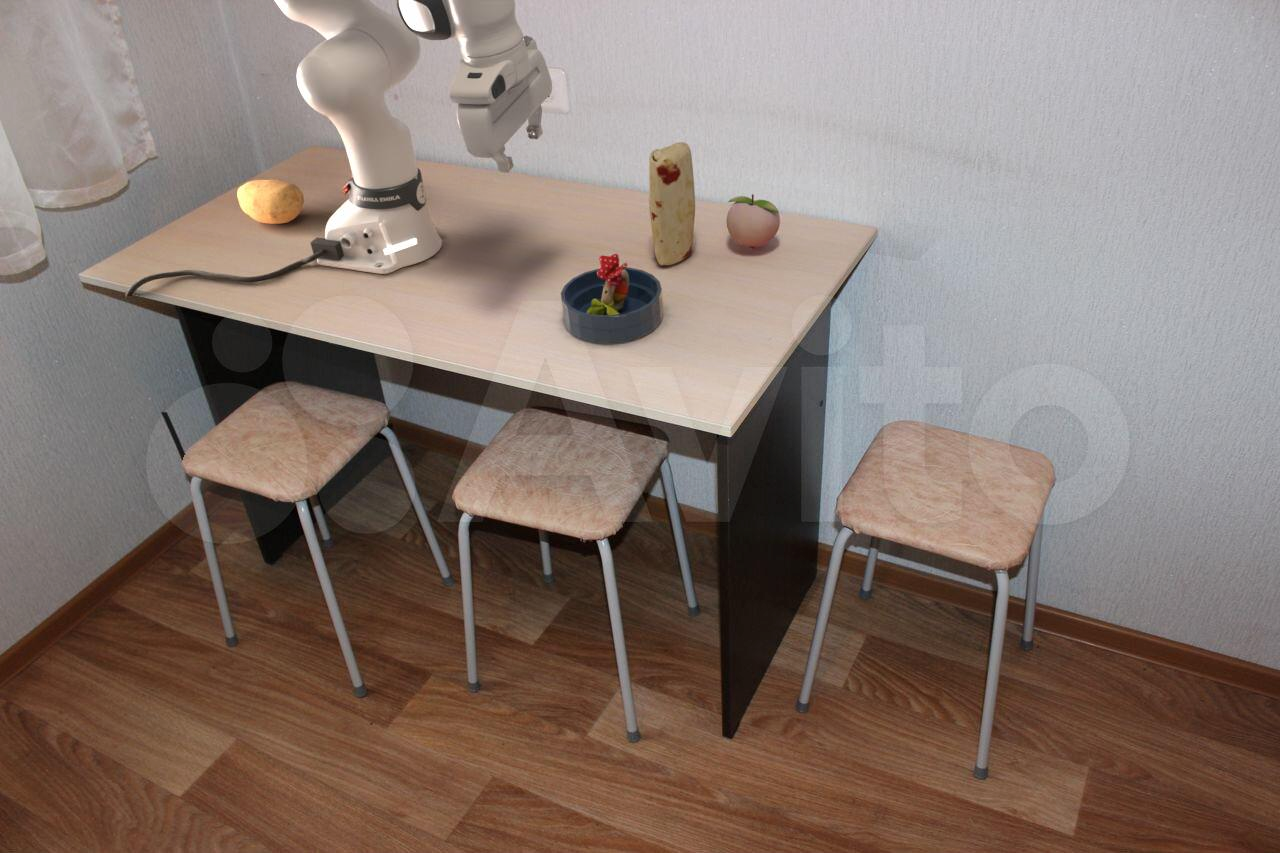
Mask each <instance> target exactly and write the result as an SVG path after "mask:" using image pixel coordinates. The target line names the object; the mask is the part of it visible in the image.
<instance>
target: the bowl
mask: <svg viewBox="0 0 1280 853" xmlns="http://www.w3.org/2000/svg"><path fill="white" fill-rule="evenodd" d="M600 268H601V267H599V268H596V269H591V270H588V271H585V272H583V273H580V274H579V275H577V276H575V277H573V278H572V279H570V280H568V282H567V283H566V284H565V285H563V288H562V290H561V292H560V298H561V299H560V300H561V307H562V316H563V321H564V327H565V328H566V330H567V331H568V332H569V333H570V334H571V335H573V336H575V337H576V338H579V339H580V340H583V341H588V342H592V343H597V344H599V343H600V344H615V343H623V342H629V341H632V340H635V339H638V338H642V337H643V336H645V335H647V334H650V333H651V332H653V331H654V330H655V329H656V328H657V327H658V326H659V325H660V324H661V323H662V319H663V316H664V302H663V288H662V285H661V281H660V280H658V278H657V277H655V276H654V275H653V274H652V273H650V272H648V271H646V270H643V269H639V268H633V267H630V266H627V267H626V268H625V269H624V270H626V271H627V273H628V275H629V287H628V294H627V297H626V298H625V301H624V304H623V308H622V309H619V310H618V311H617V312H618V313H620V314H617V315H592V314H588V313H586V312H587V310H588V309H589V308H590V307H591V301H592V300H593V299H597V300H599V302H600V303H601V299H602V293H603V289H604V285H605V283H606V282H605V280H602V279H600V278H599V277H598V275H597V271H598V270H599V269H600Z"/></svg>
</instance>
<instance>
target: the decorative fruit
mask: <svg viewBox="0 0 1280 853" xmlns="http://www.w3.org/2000/svg"><path fill="white" fill-rule="evenodd" d="M754 197H755V195H754V193H752V194H751V198H750V197H748V196H745V195H739V196H735V197H733V198H731V199H728V201H727V203H733V204H732V205H730V207H729V209H728V211H727V213H726V214H727V215H726V228H727V231H728V233H729V235H730V237H731V239H732V240H733V241H735V242H736V243H737V244H739V245H741V246H745V247H749V248H750V249H754V248H759V247H761V246H765V245H767V244H769V243H770V242H771V241H772V240H773V239H774V238H775V236H776V235H777V233H778V231H779V228H780V226H781V217H780V212H779V210H778V208H777V206H776V205H775V204H773V202H770V201H769V200H766V199H756V200H755V198H754Z"/></svg>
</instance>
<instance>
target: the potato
mask: <svg viewBox="0 0 1280 853" xmlns="http://www.w3.org/2000/svg"><path fill="white" fill-rule="evenodd" d="M236 194H237V196H236V197H237V200H238V203H239V204H238V205H239V206H240V209H241V211H243V212H244V213H245V214H246V215H247V216H249V217H250V218H251V219H252V220H254V221H256V222H259V223H262V224H267V225H268V224H270V225H271V224H273V225H276V224H277V225H279V224H287V223H290V222H291V221H293V220H295V219H296V218H297V217H298V216H299V215H300V213H301V212H302V210H303V207H304V203H305V198H304V194H303V192H302V190H301V189H300V187H299V186H297V185H295V184H294V183H290V182H286V181H284V180H281V179H253V180H250V181H247V182H246V183H244V184H242V185H241V186H240V187H238V189H237V193H236Z"/></svg>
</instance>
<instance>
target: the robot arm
mask: <svg viewBox="0 0 1280 853" xmlns="http://www.w3.org/2000/svg"><path fill="white" fill-rule="evenodd" d="M273 1H274V3H275V4H276V5H277V6H278V8H279V9H280V10H281V12H282V14H284V16H286V17H287V18H288V19H290V20H292V21H293V22H296V23H300V24H304V25H306V26H308V27H309V28H312V29H313V30H314V31H316V32H317V33H319V34H320V35H321V36H322V37H323V38H324V39H326V40H324V41H322V42H320V43H318V44H317V45H315V46H314V47H313V48H312V49H311V50H310V51H309V52H308V53H307V54H306V55H305V56H304V57H303V59H302V60H301V61H300V62H299V64H298V66H297V69H296V73H295V74H296V76H295V77H296V84H297V87H298V90H299V93H300V95H301V97H302V98H303V100H304V101H305V102H306V103H307V105H308V106H309V107H310V108H312V109H313V110H314V111H315V112H317V113H319V114H320V115H324V116H325V117H326V118H328V119H329V121H331V122H332V124H333V125H334V126H335V128H336V130H337V132H338V133H339V136H340V138H341V140H342V142H343V145H344V148H345V151H346V155H347V158H348V162H349V166H350V169H351V178H349V179H348V180H347V181H346V182H345V185H344V186H343V187H342V189H341V191H343V193H342V194H343V196H346V195H347V194H348V199H347V200H346V201H345V202H344V203H343V204H341V206H340V207H339V208H338V209H337V210H336V211H335V212H334V213H333V214H332V215H331V216H330V217H329V219H328V221H327V222H326V225H325V229H324V237H318V236H317V237H315V238H314V239H313V240H311V241H310V243H309V244H310V247H311V251H312V255H310V256H307V257H305V258H303V259H300V260H298V261H294V262H293V263H291V264H289V265H286V266H284V267H282V268H279V269H278V270H275V271H273V272H270V273H265V274H261V275H256V276H241V275H233V274H225V273H214V272H210V271H209V272H208V271H203V270H197V269H183V270H182V269H181V270H175V271H174V270H173V271H167V272H160V273H154V274H150V275H147V276H145V277H144V276H143V277H142V278H140V279H138V280H137V281H135V283H133V284H132V285H131V286H130V287H129V289H127V292H126V293H125V297H131V296H133V295H134V293H135V292H137V290H138V289H139V288H140V287H142V286H143V285H146V284H147V283H150V282H152V281H157V280H161V279H168V278H169V279H170V278H177V277H183V276H195V277H201V278H207V279H211V280H212V279H213V280H221V281H230V282H236V283H258V282H263V281H268V280H272V279H274V278H277V277H280V276H282V275H284V274H287V273H289V272H291V271H293V270H295V269H297V268H300V267H302V266H304V265H307V264H310V263H311V262H314V261H316V263H317V264H318V265H320V266H324V267H332V268H339V269H344V270H352V271H359V272H366V273H371V274H372V273H373V274H379V275H388V274H391V273H393V272H395V271H397V270H399V269H402V268H405V267H408V266H413V265H416V264H419V263H422V262H424V261H426V260H428V259H430V258H432V257H434V256H436V254H437V253H438V252H439V251H440V250H441V248H442V246H443V240H442V238H441V237H440V235H439V233H438V231H437V229H436V227H435V224H434V221H433V219H432V217H431V214H430V211H429V208H428V205H427V194H426V187H425V184H424V180H423V175H422V172H421V169H420V168H419V167H418V163H417V159H416V153H415V148H414V144H413V139H412V134H411V131H410V129H409V126H407V125H406V123H405V122H403V121H402V120H400V119H399V118H396V117H393V116H392V115H391V112H390V110H389V108H388V106H387V104H386V99H385V92H387V91H388V90H390V89H391V88H393V87H395V86H396V85H398V84H399V83H401V82H402V81H404V80H405V79H406V78H407V77H408V76H409V75H410V74H411V72H412V71H413V70H414V68H415V67H416V65H417V64H418V63H419V60H420V58H421V43H420V39H419V38H422V39H425V40H428V41H445V40H448V39H455V40H456V41H457V42H458V45H459V51H460V55H461V58H462V59H460V61H459V65H458V68H457V70H456V73H455V75H454V78H453V80H452V82H451V84H450V86H449V88H448V96H449V99H450V101H451V102H452V103H453V104H457V107H456V120H457V123H458V128H459V130H460V131H459V132H460V133H461V137H462V141H463V143H464V146H465V148H466V151H467V152H468V153H469V154H470V155H471V156H472V157H474V158H480V159H492V160H493V161H494V162H496V165H497V170H498V171H499V172H500V173H504V174H505V173H508V174H509V172H511V170H512V169H513V168H514V166H515V164H514V162H513V157H512V156H507V154H506V153H505V151H506V147H505V145H506V144H507V143H508V142H509V141H510V139H512V137H513V136H514V135H515V134H516V133H517V132H518V131H519V130H520V128H522V126H523V125H525V123H526V122H527V126H526V128H525V130H526V133H527V137H528V138H529V139H530V140H539V138H540V137H541V136H542V135H543V133H544V132H543V127H542V117H543V116H542V115H543V108H542V104H543V103H545V101H546V100H547V99H548V98H549V96H550V95H551V94H552V90H553V81H552V77H551V75H550V71H549V68H548V66H547V62H546V60H545V57H544V55H543V54H542V52H541V51H540V49H538V45H537V42H536V40H535V39H533V37H532V36H529V35H524V33H523V31H522V28H521V27H520V25H519V24H518V21H517V18H516V1H515V0H395V3H396V8H397V11H398V14H399V16H398V15H395V14H392V13H389V12H387V11H385V10H384V9H381V8H380V7H379V6H377V5H375V3H373V2H372V1H370V0H273ZM160 413H161V416H162V418H163V420H164V422H165V425H166V427H167V429H168V431H169V433H170V436H171V438H172V440H173V443H174V445H175V447H176V450H177V452H178V455H179V457H180V459H181V460H180V461H182V460H183V457H184V455H186V453H185V450H184V447H183V446H182V443H181V441H180V439H179V436H178V433H177V432H176V429H175V427H174V425H173V423H172V420H171V418H170V416H169V414H168V412H167V411H160Z"/></svg>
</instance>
